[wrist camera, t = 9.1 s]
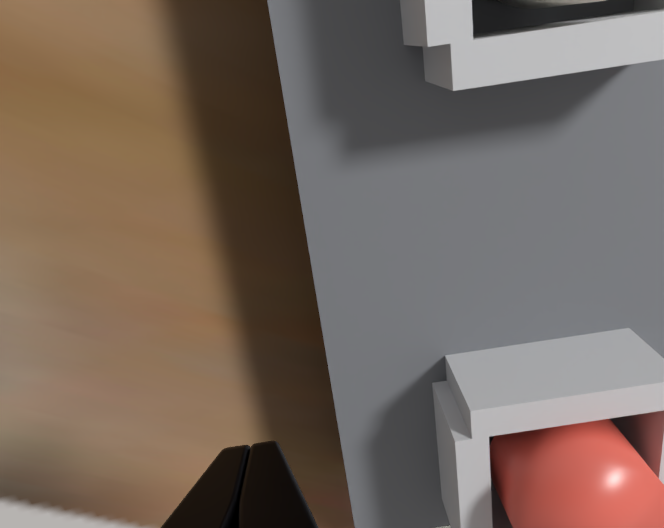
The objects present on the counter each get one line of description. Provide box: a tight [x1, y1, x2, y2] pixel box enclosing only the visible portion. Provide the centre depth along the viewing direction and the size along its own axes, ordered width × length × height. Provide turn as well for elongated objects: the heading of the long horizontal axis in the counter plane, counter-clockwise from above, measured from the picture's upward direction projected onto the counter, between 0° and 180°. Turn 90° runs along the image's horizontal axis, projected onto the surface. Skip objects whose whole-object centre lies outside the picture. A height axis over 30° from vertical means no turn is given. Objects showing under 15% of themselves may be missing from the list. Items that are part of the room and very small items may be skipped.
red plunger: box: [489, 419, 664, 528], centre depth 17 cm, size 4×4×3 cm
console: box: [267, 0, 664, 528], centre depth 17 cm, size 14×24×7 cm, turn 8°
